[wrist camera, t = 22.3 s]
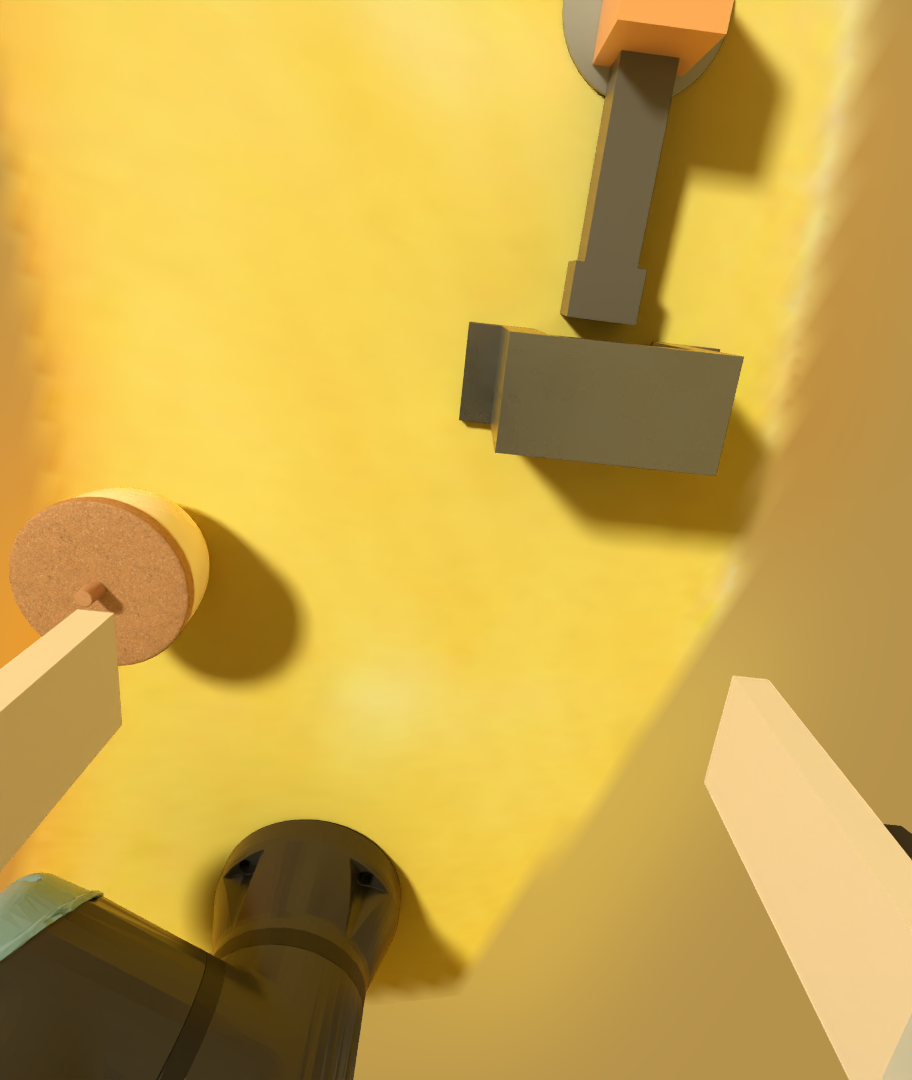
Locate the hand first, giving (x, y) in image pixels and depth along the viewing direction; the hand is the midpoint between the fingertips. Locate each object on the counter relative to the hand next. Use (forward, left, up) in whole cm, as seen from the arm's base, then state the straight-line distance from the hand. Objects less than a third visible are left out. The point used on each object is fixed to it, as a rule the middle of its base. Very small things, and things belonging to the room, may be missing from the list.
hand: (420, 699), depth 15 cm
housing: (+8, +4, -32) cm, 33 cm away
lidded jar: (-20, -10, -32) cm, 39 cm away
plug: (+8, +17, -31) cm, 37 cm away
